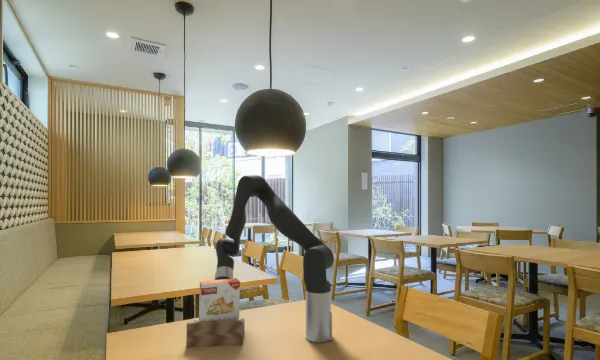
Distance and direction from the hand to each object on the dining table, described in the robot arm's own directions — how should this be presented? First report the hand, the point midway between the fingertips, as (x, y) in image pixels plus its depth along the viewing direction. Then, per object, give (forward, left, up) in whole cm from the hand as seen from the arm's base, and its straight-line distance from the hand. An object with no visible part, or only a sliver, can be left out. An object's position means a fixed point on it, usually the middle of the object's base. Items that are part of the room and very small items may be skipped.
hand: (218, 321), depth 126 cm
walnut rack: (0, +3, -5) cm, 6 cm away
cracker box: (-1, +4, -5) cm, 6 cm away
